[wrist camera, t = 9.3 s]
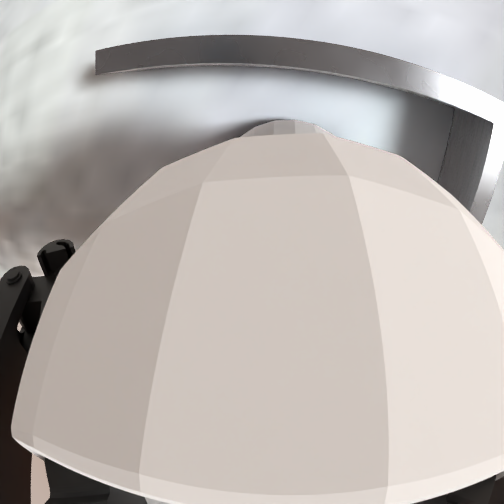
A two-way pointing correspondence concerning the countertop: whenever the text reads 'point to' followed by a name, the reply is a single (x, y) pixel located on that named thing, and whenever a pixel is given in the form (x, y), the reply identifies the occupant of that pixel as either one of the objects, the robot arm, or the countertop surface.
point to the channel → (356, 67)
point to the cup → (275, 333)
